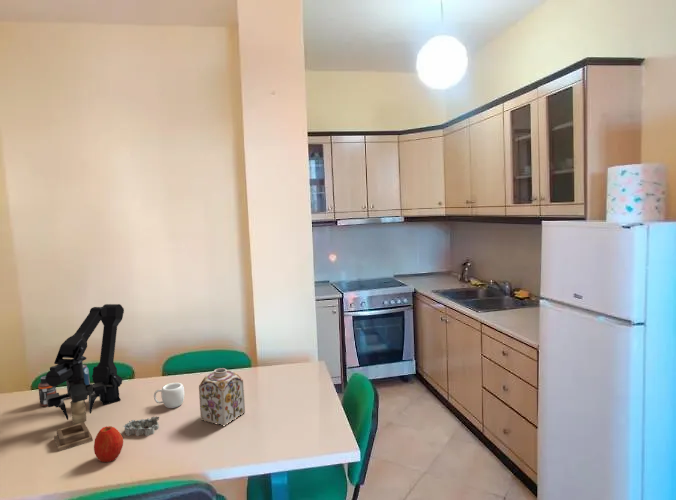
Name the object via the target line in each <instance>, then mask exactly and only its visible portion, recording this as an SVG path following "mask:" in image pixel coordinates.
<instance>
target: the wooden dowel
mask: <svg viewBox="0 0 676 500" xmlns="http://www.w3.org/2000/svg"><path fill="white" fill-rule="evenodd" d="M70 409H71V420H72V421H71V422H72V425H76V424H79V423H83V422H84V423H86V422H87V412H86V411H87V410H86V400H82V401H78V402H76V403H73V402H72V400H71V401H70Z"/></svg>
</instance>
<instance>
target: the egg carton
mask: <svg viewBox="0 0 676 500" xmlns="http://www.w3.org/2000/svg"><path fill="white" fill-rule="evenodd" d="M159 420H160V416H151V417H150V418H145V419H143V418H141V419H131V420H129V421H128V422H127V423H125V424H124V425H123V426H122V427H123V428H124V434H125V435H126V436H127V437H128V436H132V435H135V436H136V437H139V436H141V435H145V436H146V437H149V436H151V435H154V434H155V430H156V431H157V430H158V429H159V428H160V425H159V422H158V421H159ZM146 427H147V428H146Z"/></svg>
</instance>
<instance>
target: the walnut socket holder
mask: <svg viewBox="0 0 676 500" xmlns="http://www.w3.org/2000/svg"><path fill="white" fill-rule="evenodd" d="M53 438H54V442H55V445H56V448H57V451H58V452H61V451H64V450H67V449H71V448H74V447H77V446H79V445H84V444H86V443H90V442H93V439H94V438H93V436H92V433H91V432H90V430H89V428H88V426H87V425H86V422H83V423H79V424H72V425H70V426H66V427H62V428H59V429H57V430H56V435H54V437H53Z"/></svg>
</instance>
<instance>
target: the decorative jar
mask: <svg viewBox="0 0 676 500" xmlns="http://www.w3.org/2000/svg"><path fill="white" fill-rule="evenodd" d="M244 388H245V386H244V379H243V378H242V377H241V375H239V374H238V373H237V372H236V371H232V370H229V369H226V368H224V367H222V368H221V367H219V368H216V369H214V370H213V371H212V372H210V373H208V374H206V375H205V376H204V378H203V379H202V380H201V382H200V384H199V385H198V394H199V395H198V397H199V410H200V419H201V421H202V420H204V421H203V422H206V421H209V422H213V423H217V424H221V425H226V424H227V423H229V422H230V421H232V420H234V419H235V418H237V417H238V416H240V415H241V416H243V415H244V414H243V413H245V414H246V403H245V402H246V401H245V389H244ZM242 414H243V415H242ZM241 416H240V417H241ZM238 418H239V417H238ZM238 418H237V419H238ZM235 420H236V419H235ZM235 420H234V421H235ZM209 422H208V423H209ZM232 422H233V421H232ZM213 423H212V424H213ZM217 424H216V425H217ZM229 424H230V423H229ZM221 425H220V426H221ZM226 426H227V425H226Z"/></svg>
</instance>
